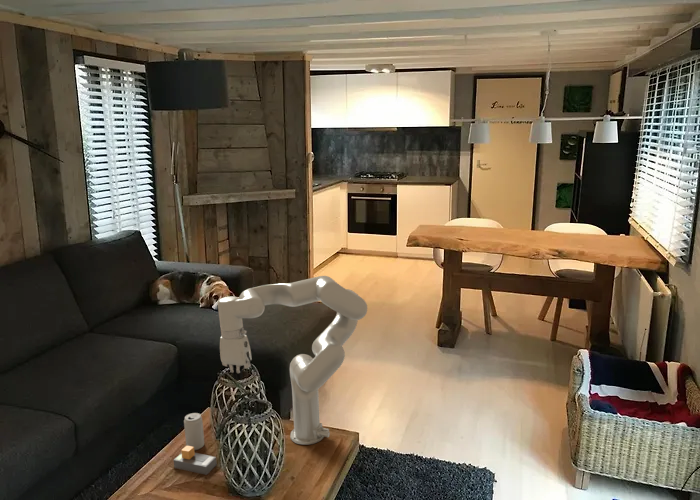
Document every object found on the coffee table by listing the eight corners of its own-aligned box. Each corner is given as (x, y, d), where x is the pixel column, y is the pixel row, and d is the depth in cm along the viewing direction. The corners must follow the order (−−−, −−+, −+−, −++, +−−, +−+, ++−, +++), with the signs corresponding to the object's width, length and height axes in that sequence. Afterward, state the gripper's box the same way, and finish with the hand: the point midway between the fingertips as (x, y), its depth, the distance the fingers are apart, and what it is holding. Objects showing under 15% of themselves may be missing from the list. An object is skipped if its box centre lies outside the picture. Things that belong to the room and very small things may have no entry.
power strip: (216, 464, 195) (215, 456, 194) (206, 474, 190) (205, 466, 189) (185, 458, 200) (184, 450, 199) (174, 467, 194) (173, 459, 193)
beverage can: (182, 448, 206) (179, 418, 203) (195, 440, 211) (192, 410, 208) (196, 453, 203) (193, 422, 200) (208, 444, 208) (205, 414, 206)
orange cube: (194, 454, 196) (193, 446, 195) (189, 459, 193) (188, 451, 192) (187, 453, 197) (186, 445, 196) (182, 457, 194) (181, 450, 193)
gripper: (257, 330, 195) (262, 379, 200) (219, 327, 201) (225, 375, 205) (246, 338, 189) (251, 388, 193) (207, 335, 194) (214, 384, 198)
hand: (238, 381), depth 199 cm, fingers closed
